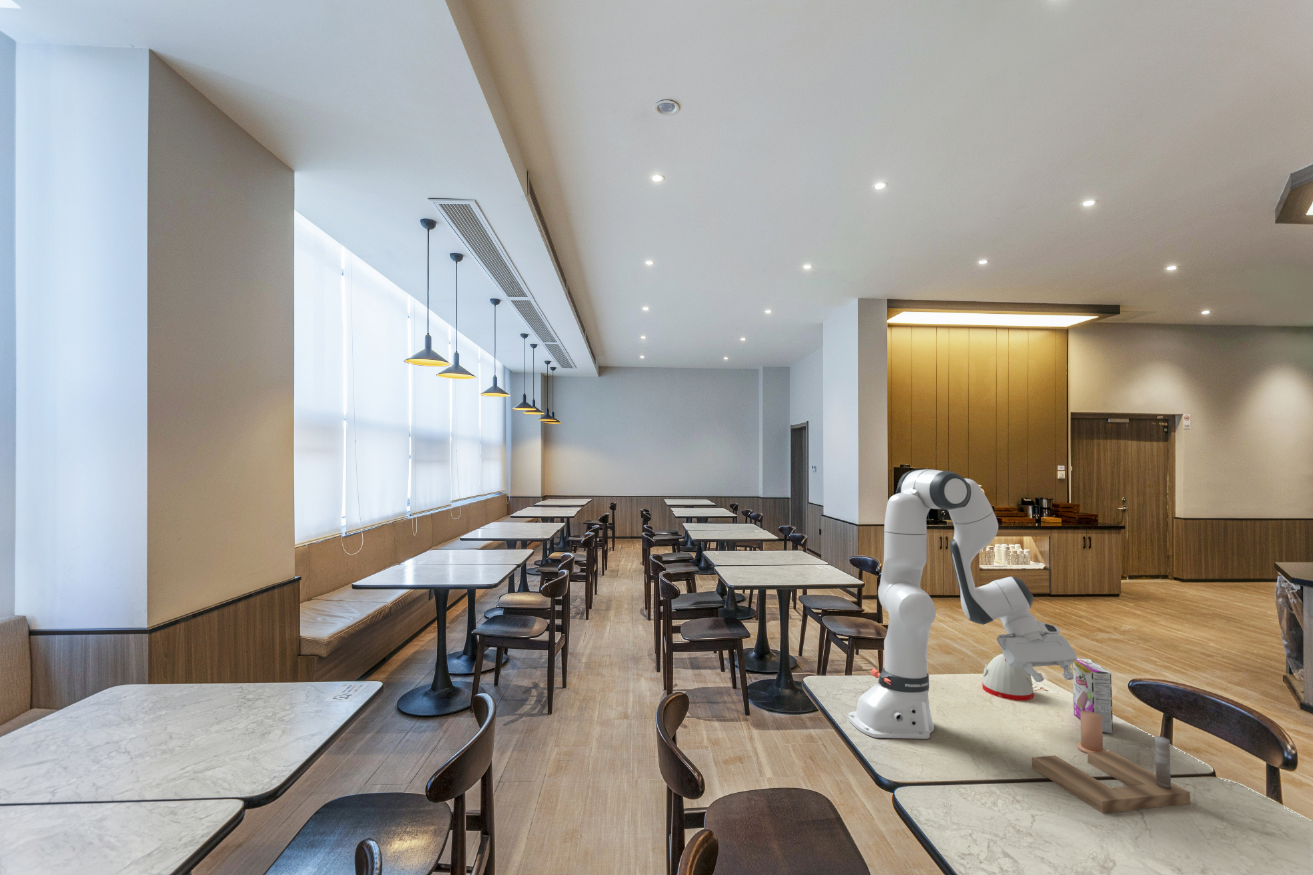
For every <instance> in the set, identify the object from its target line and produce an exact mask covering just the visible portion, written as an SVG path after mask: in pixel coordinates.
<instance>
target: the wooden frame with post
mask: <svg viewBox="0 0 1313 875" xmlns="http://www.w3.org/2000/svg"><path fill="white" fill-rule="evenodd" d="M1170 742H1171V740H1170V739H1169V738H1166V737H1164V736H1158V735H1157V736H1155V737H1154V745H1155V746H1154V748H1155V773H1154V772H1152V771H1150V770H1148V769H1146V768H1144V767H1143V766H1142V765H1141V766H1140V765H1139V764H1137V763H1135V762H1133V761H1131V760H1130V759H1127V758H1125V757H1123V756H1121V755H1119V754H1117V753H1116V752H1114V751H1112V750H1107V751H1102V752H1090V753H1088V754H1087V763H1088V764H1089V765H1091V766H1093V767H1094V768H1097V769H1098V770H1100V771H1102V772H1103V773H1105V774H1107V775H1108V776H1110V777H1112V778H1114V779H1116V780H1118V781H1119V782H1121V783H1123V784H1125V785H1124V786H1116V787H1111V786H1108V785H1106V783H1103V782H1101V781H1100V780H1098V779H1097V778H1094V777H1093V776H1092V775H1089V774H1088V773H1087V772H1085V771H1083V770H1081V769H1079V768H1077V767H1076V766H1074V765H1073V764H1070V763H1069V762H1067V761H1066V760H1064V759H1063V758H1061V757H1059V756H1057V755H1047V756H1046V755H1045V756H1044V755H1043V756H1034V757H1031V769H1033V770H1035V771H1036V772H1037V773H1039V774H1040V775H1043V776H1044V777H1046V778H1047V779H1049V780H1050V781H1052V782H1053V783H1055V784H1056V785H1058V786H1060V787H1061V788H1063V789H1064V790H1066V791H1067V792H1069V793H1070V794H1072V795H1074V796H1075V797H1077V798H1078V799H1080V800H1081V801H1083V802H1085V803H1086V804H1088V805H1089V806H1091V807H1092V808H1094V809H1095V810H1097V811H1098V812H1100V813H1102V814H1105V813H1115V812H1125V811H1133V810H1145V809H1153V808H1154V809H1155V808H1163V807H1171V806H1181V805H1190V804H1191V793H1190V792H1191V791H1188V790H1187V789H1184V788H1182V787H1180V786H1179V785H1177V784H1176V783H1175V784H1174V783H1173V782H1171V780H1172V779H1171V776H1172V775H1171V774H1172V773H1171V746H1170V745H1171V744H1170Z"/></svg>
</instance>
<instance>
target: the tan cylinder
mask: <svg viewBox="0 0 1313 875" xmlns="http://www.w3.org/2000/svg"><path fill="white" fill-rule="evenodd" d="M1080 716H1081V720H1080V741H1079V742H1077V743H1076V747H1077V749H1078V750H1079V751H1080V752H1081V753H1083V754H1085V755H1088V753H1090V752H1102V751H1108V750H1107V749H1106V748H1105V747H1104V742H1103V741H1104V737H1103V733H1102V716H1101V715H1099V714H1097V713H1094V712H1090V711H1081V712H1080Z"/></svg>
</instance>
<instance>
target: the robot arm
mask: <svg viewBox="0 0 1313 875" xmlns="http://www.w3.org/2000/svg"><path fill="white" fill-rule="evenodd" d="M886 504H887V505H886V509H885V515H884V530H883V532H884V533H883V562H882V564H883V565H882V568H881V575H880V579H879V580H880V582H879V585H878V587H877V588H878V590H877V595H878V596H877V597H878V600H879V603H880V605H881V606H882V608H883V609H884V610H885V611H886V612H887V613H888V626H887V632H886V636H885V638H884V640H883V648H884V650H883V651H884V652H883V653H884V655H883V656H884V659H883V663H884V664H883V666H884V667H883V668H882V670H881V671H879V670H877V669H876V668H872V670H871V672H870V673H871V674H870V675H871V676H872V677H874V678H876V679H878V681H877V682H876V683H875V684H874V685H873V686H871V687H870V688H869V689H868V690H867V691H865V692H863V693H862V694H861V695H860V696H859V697H858V700H857V705H856V710H853V711H850V712H848V714H847V716H848V721H849V722H850V723H851V725H852V726H854V727H855V728H856V729H857V730H858V731H860V732H861V733H863V734H865V735H867V736H870V737H872V738H875V739H876V738H879V739H882V738H883V739H920V740H921V739H922V740H924V739H925V740H928V739H931V733H932V732H934V730H935V724H934V721H933V717H932V713H931V708H930V700H929V690H930V675H929V673H928V643H929V638H930V637H929V636H930V633H931V627H932V624H933V622H934V621H935V619H936V615H937V614H936V613H937V611H936V609H937V608H936V606H935V603H934V601H933V599H932V597H931V596H930V594H928V592H926V591H925V590H924V589H922V587H921V583H922V581H921V580H922V577H923V576H922V575H923V572H924V567H925V566H926V564H927V562H928V561H927V557H928V556H927V554H928V553H927V552H928V551H927V550H928V548H927V544H928V543H927V541H928V539H927V537H928V533H927V532H928V531H927V530H928V529H927V527H928V526H927V517H928V514H929V512H930V510H931V509H933V510H945V511H947V512H948V513H949V517H950V519H951V521H952V524H953V528H954V534H953V538H952V539H951V540H950V542H949V551H950V556H951V561H952V565H953V570H954V574H955V578H956V583H957V586H958V592H959V596H960V598H959V599H960V605H961V610H962V611H963V613H964V614H965V617H966V618H967V619H968V620H969V621H970V622H972V623H975V624H978V625H982V626H984V625H986V624H989V623H991V622H993V621H995V620H998V619H999V620H1000V622H1001V624H1002V626H1003V629H1004V631H1005V632H1006V634H1003V633H1002V634H999V635H998V636H997V638H996V642H997V643H998V645H999V647H1000V650H1001V652H1002V654H1003V655H1004V657H1005V659H1006V661H1007V663H1008V664H1009V665H1010V666H1011V667H1012V668H1019V667H1023V668H1024V670H1025V671H1026V672H1027V673H1028V674H1030V675H1031V678H1033V680H1034V681H1035V682H1036V683H1042V682H1043V681H1044V680H1045V678H1044V676H1043V675H1042V673H1041V672H1037V670H1035V669H1034V667H1035V668H1036V667H1049V666H1059V667H1060V668H1061V669H1063V673H1062V674H1061V675H1062V677H1063V678H1064V679H1065V681H1073V678H1074V676H1073V672H1072V671H1071V670H1072V667H1071V664H1072V663H1073V662H1074V661H1076V660H1077V658H1078V655H1077V653H1076V651H1075V649H1074V648H1073V646H1072V645H1071V644H1070V642H1069V641H1068V640H1067V638H1066V637H1064V636H1063V635H1062V634H1060V632H1061V630H1060V628H1059V627H1058V626H1057V625H1054V624H1050V623H1046V622H1042V621H1040V620H1037V618H1036V617H1035V616H1034V615H1033V614H1032V613H1031V612H1030V609H1031V608H1032V606H1033V603H1034V600H1035V598H1034V595H1033V593H1032V592H1031V591H1030V589H1029V587H1028V586H1027V585H1026V583H1025V582H1024V580H1023V579H1020V578H1019V577H1015V576H1012V575H1011V576H1008V577H1004V578H1000V579H994V580H993V581H991V582H989V583H987V584H984V585H980V586H978V587H976V586H975V585H976V584H975V581H974V578H973V574H972V569H971V568H972V567H971V565H972V562H973V560H974V558H975V557H976V556H977V555H978V554H979V553H981V551H982V550H983V549H984V548H986V547H987V546H988V545H990V544H991V543H992V542H993V541H994V539H995V538H996V536H997V535H998V532H999V522H998V519H997V516H996V514H995V512H994V510H993V507H992V505H991V503H990V501H989V499H988V498H987V496H986V495H985V493H984V491H983V490H982V488H981V487H980V486H979V484H978V483H977V482H976V481H975V480H973V479H972V478H964V477H963V476H962V475H960V474H959V473H956V472H953V471H949V470H937V469H932V468H930V469H929V468H926V469H913V470H909V471H907V472H905V473H904V474H902V475H901V477H900V478H899V480H898V482H897V488H896V490H895V494H893V495H892V496H890V497H889V499H888V500H887V503H886Z"/></svg>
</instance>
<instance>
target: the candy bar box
mask: <svg viewBox="0 0 1313 875" xmlns="http://www.w3.org/2000/svg"><path fill="white" fill-rule="evenodd" d="M1071 666H1072V667H1071V668H1072V674H1073V676H1074V678H1073V679H1072V688H1073V690H1072V692H1073V715H1074V716H1075V717H1076V718H1077V719H1079V720H1080V721H1081V716H1080V712H1081V711H1090V712H1094V713H1097V714H1099V715H1101V716H1102V734H1103V733H1104V734H1114V723H1113V721H1114V720H1113V690H1112V687H1113V686H1112V672H1110V671H1109V670H1107V669H1105V668H1104V667H1103V666H1101V665H1100V664H1098V663H1097V662H1095V661H1093V660H1091V659H1090V658H1078V657H1077V660H1076V661H1074V662H1073V663H1072V665H1071Z"/></svg>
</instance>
